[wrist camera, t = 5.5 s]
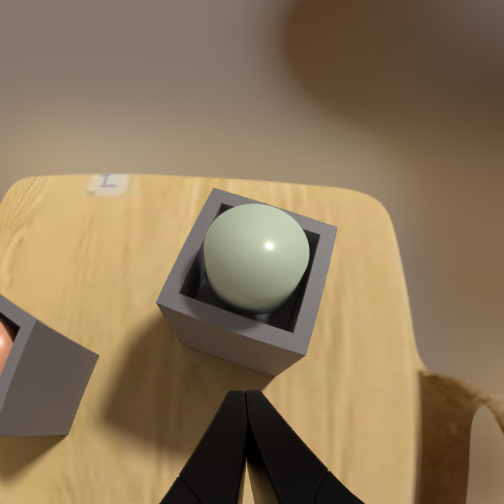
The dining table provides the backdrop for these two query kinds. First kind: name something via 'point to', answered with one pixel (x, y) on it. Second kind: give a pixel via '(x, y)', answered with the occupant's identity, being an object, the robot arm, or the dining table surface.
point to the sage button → (255, 258)
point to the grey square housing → (41, 377)
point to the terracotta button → (6, 341)
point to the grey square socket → (236, 324)
